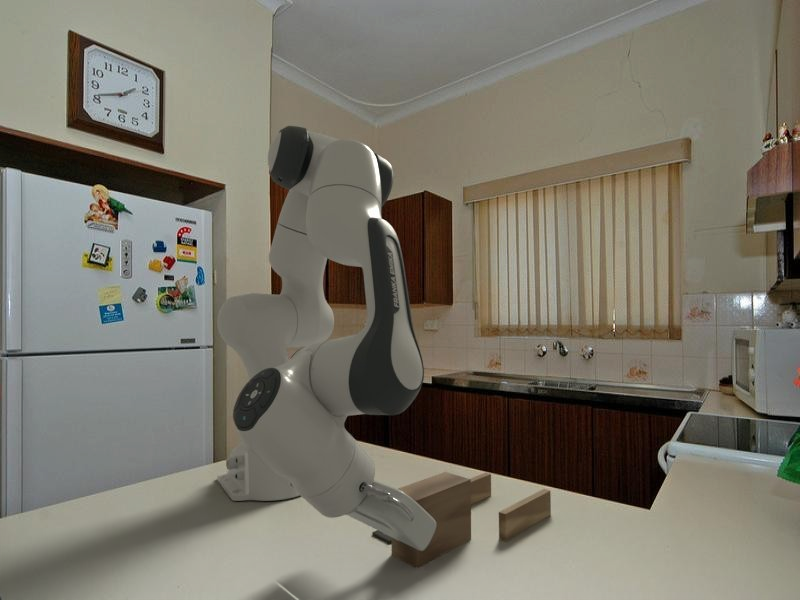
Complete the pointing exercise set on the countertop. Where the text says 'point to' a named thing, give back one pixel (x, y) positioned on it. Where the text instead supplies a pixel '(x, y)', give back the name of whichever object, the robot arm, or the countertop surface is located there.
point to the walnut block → (439, 516)
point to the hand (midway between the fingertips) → (395, 532)
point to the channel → (513, 508)
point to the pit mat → (382, 536)
